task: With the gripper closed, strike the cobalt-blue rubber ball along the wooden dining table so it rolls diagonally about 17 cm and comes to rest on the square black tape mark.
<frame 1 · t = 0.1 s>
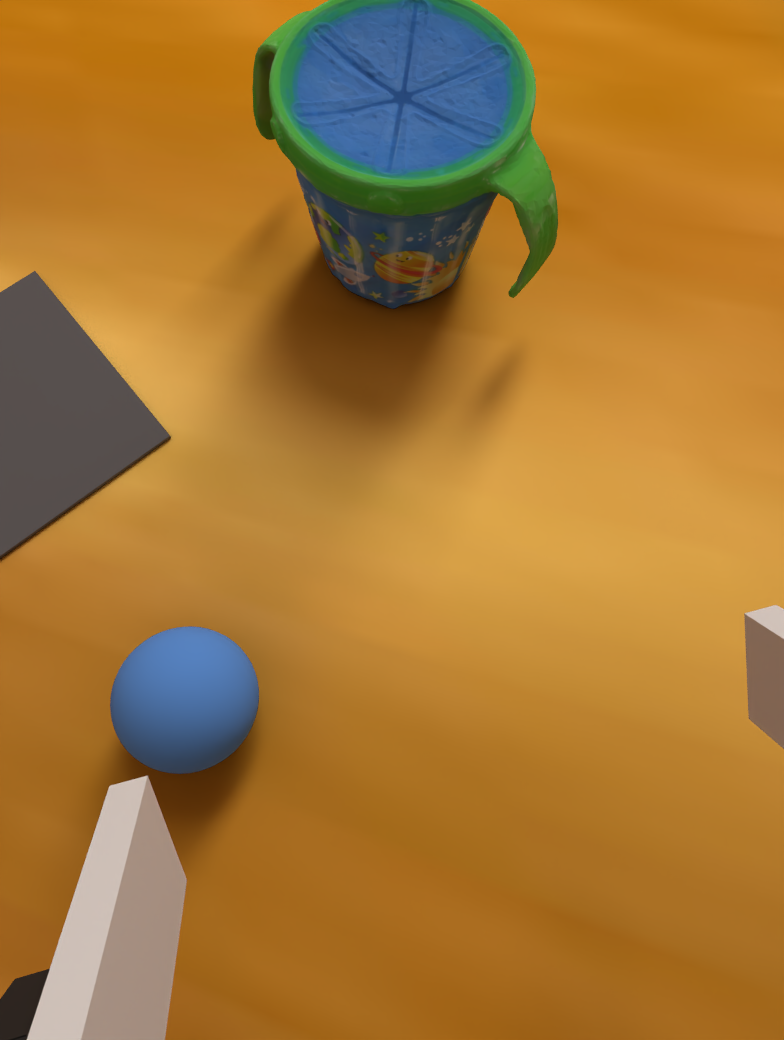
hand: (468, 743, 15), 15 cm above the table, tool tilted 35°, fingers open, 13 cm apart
snack cup: (396, 254, 37), on the table
ball: (186, 698, 27), on the table
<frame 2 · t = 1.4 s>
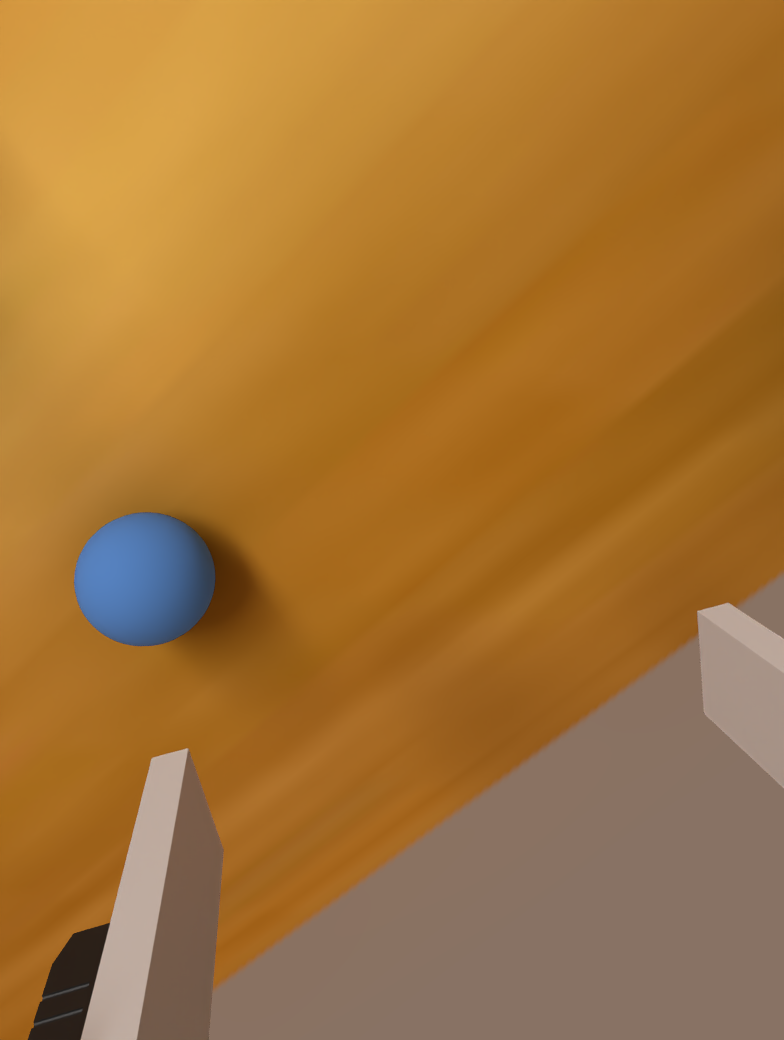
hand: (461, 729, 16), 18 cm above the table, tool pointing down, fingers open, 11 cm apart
ball: (147, 578, 29), on the table
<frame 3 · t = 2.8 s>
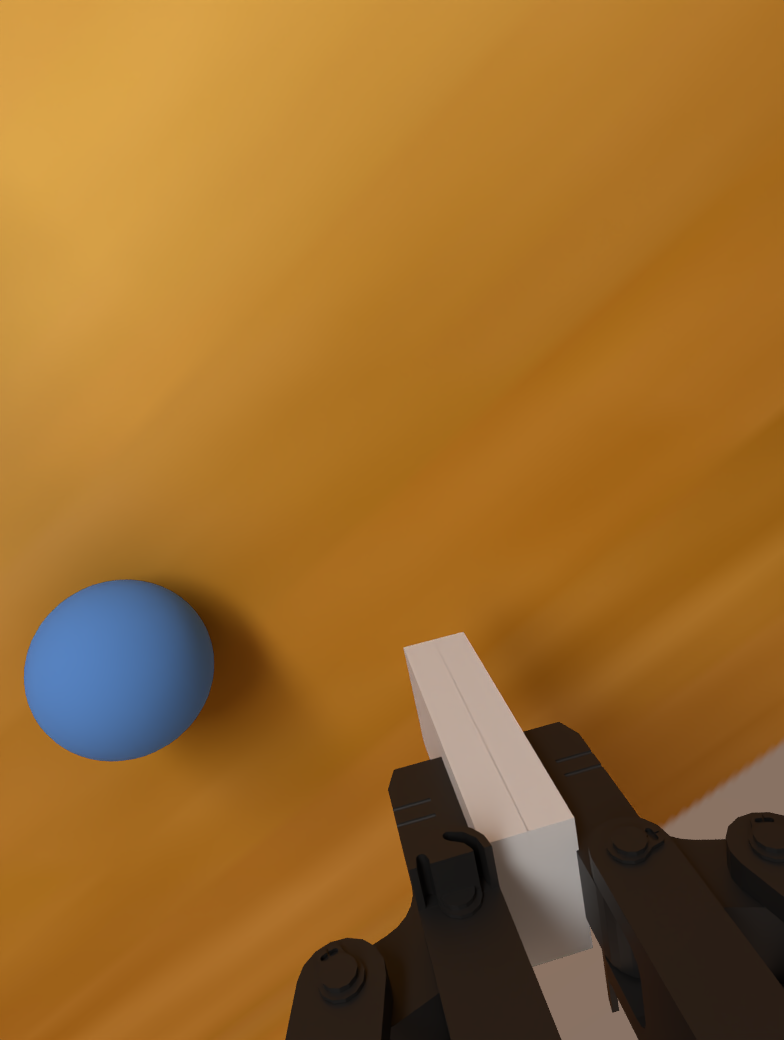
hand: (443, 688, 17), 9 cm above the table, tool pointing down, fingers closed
ball: (123, 668, 22), on the table
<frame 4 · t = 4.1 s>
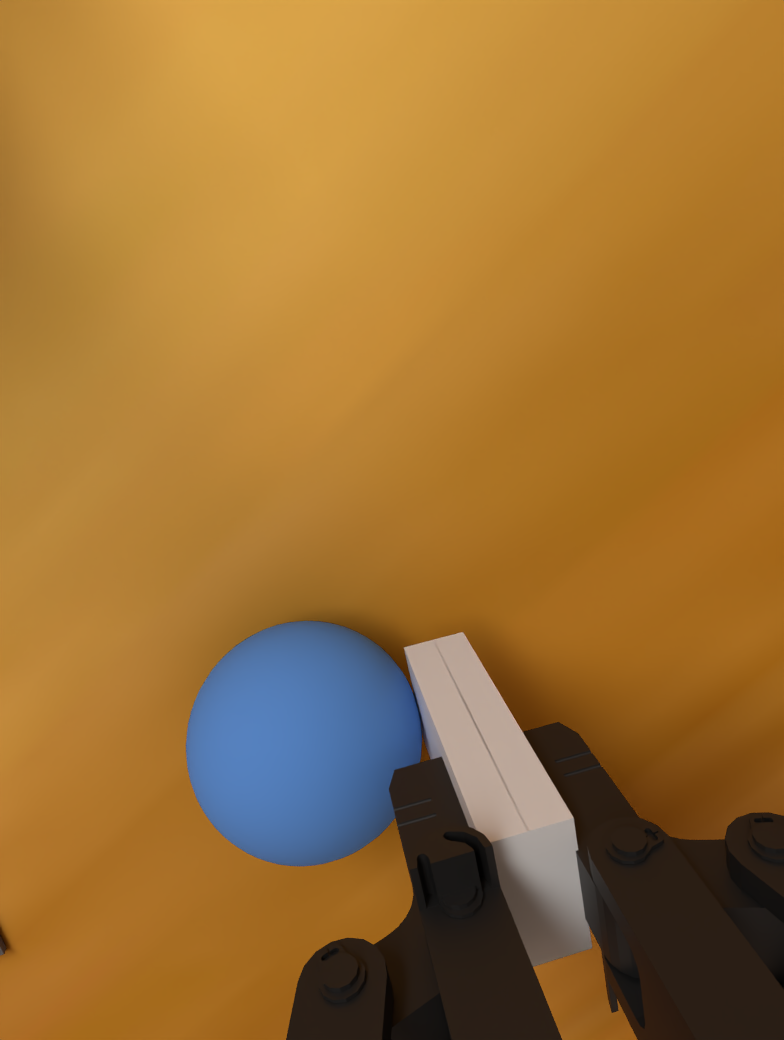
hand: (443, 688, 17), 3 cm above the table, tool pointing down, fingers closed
ball: (306, 737, 17), on the table, touching gripper
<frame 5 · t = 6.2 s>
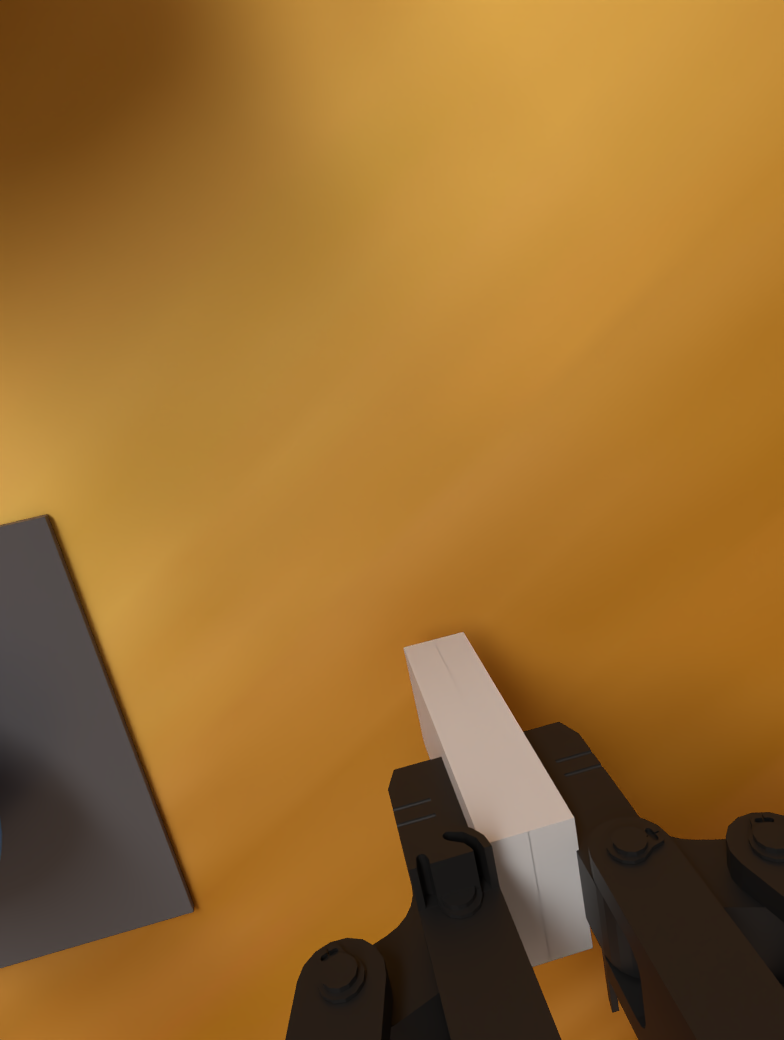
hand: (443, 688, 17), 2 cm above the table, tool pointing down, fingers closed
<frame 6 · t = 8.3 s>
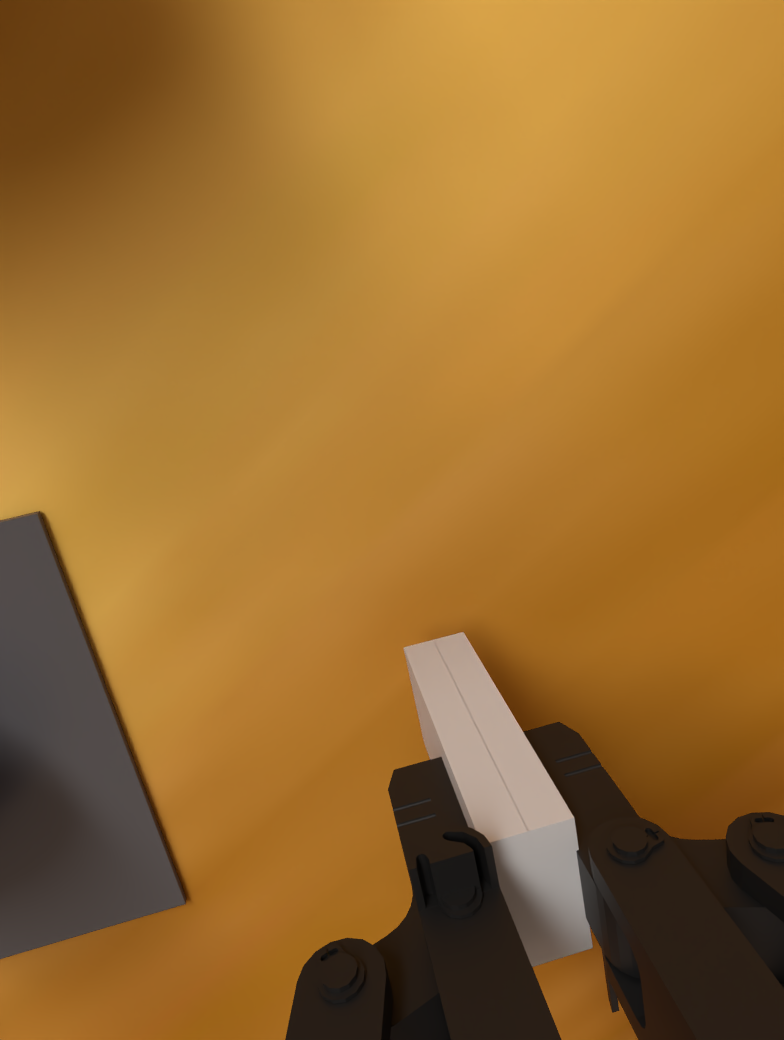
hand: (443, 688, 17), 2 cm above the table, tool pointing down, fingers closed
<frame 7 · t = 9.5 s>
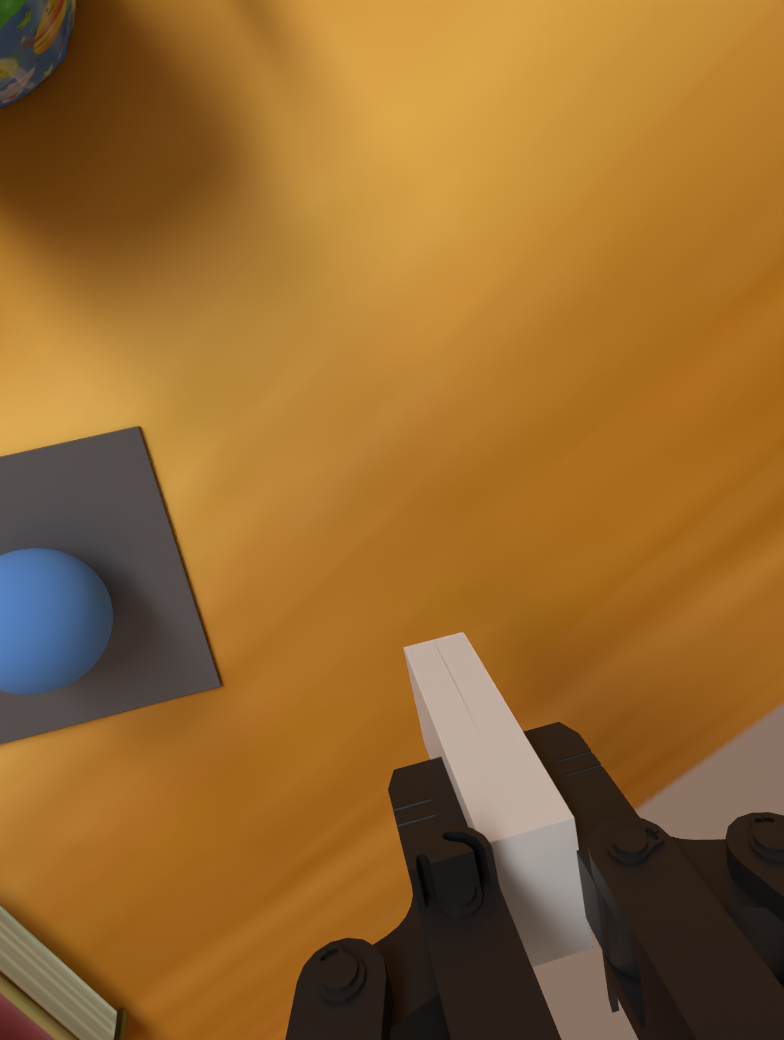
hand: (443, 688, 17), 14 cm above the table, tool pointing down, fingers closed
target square: (38, 598, 30), on the table
ball: (35, 620, 27), on the table
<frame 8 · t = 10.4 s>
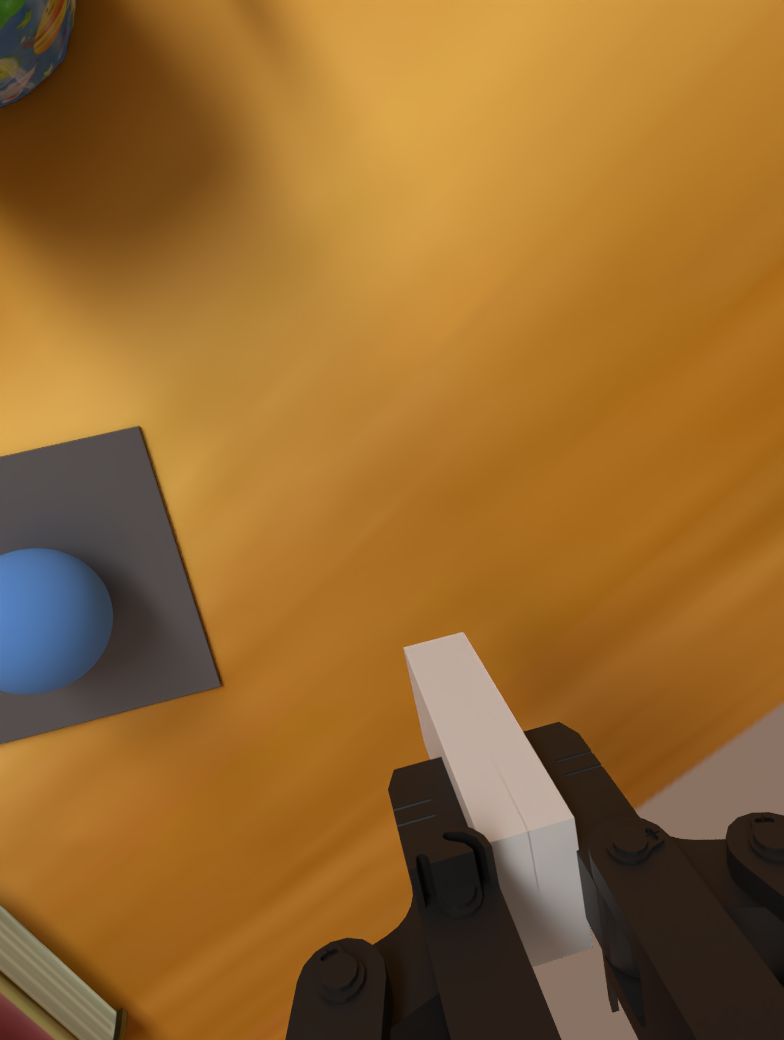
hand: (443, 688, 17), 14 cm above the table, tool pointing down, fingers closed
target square: (38, 598, 30), on the table
ball: (35, 620, 27), on the table
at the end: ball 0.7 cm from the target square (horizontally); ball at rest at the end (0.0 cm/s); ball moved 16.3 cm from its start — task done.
